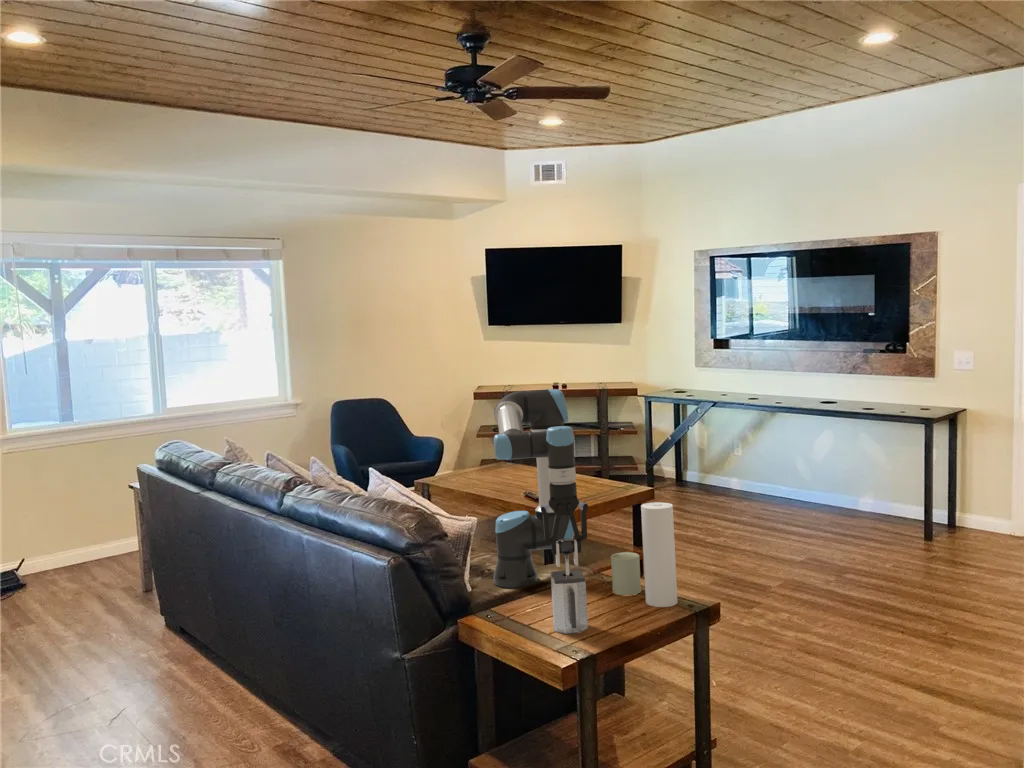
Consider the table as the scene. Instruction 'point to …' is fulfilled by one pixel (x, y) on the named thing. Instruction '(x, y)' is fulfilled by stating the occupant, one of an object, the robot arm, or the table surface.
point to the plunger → (566, 550)
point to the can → (626, 573)
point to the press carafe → (569, 602)
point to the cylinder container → (659, 554)
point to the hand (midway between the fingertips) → (567, 564)
